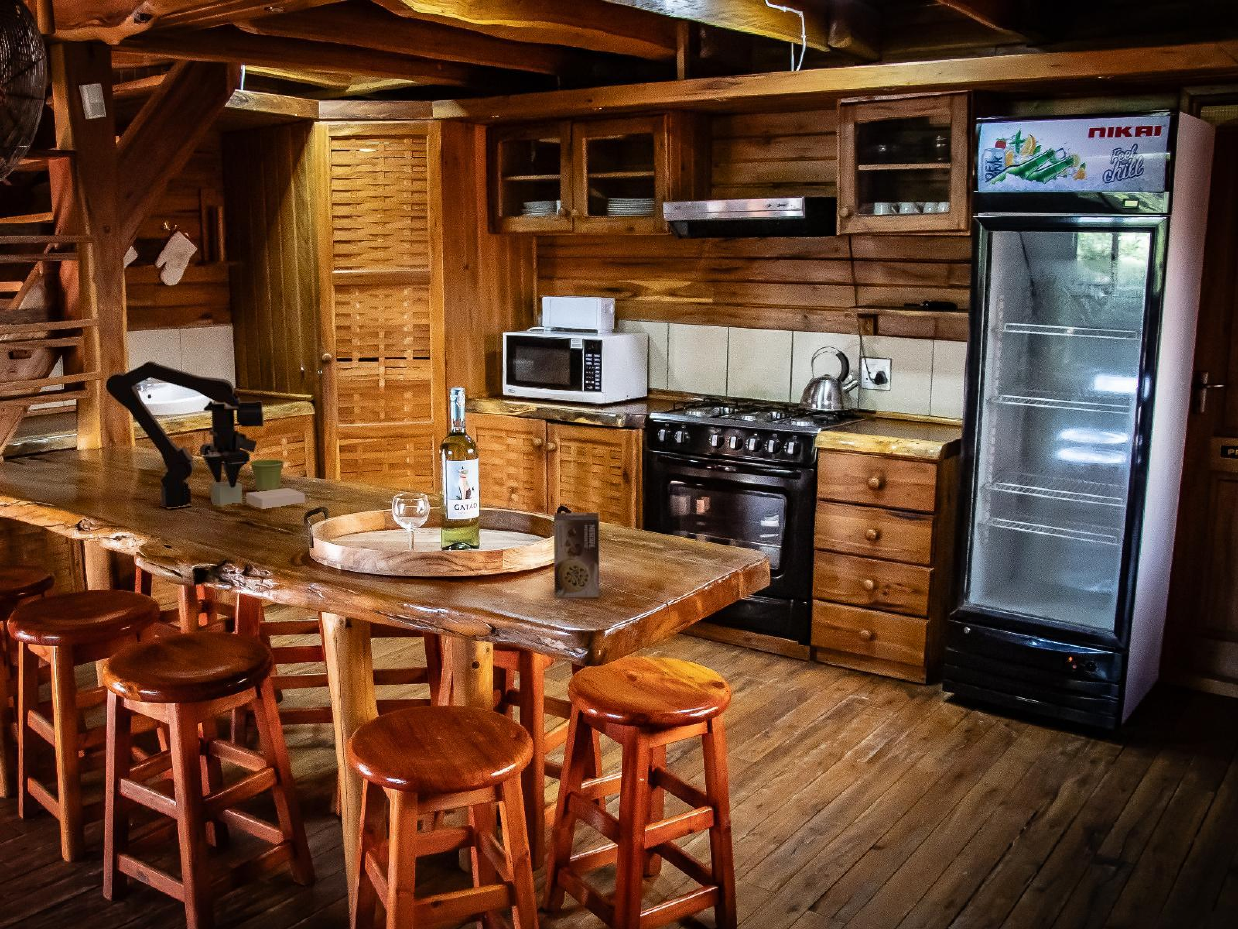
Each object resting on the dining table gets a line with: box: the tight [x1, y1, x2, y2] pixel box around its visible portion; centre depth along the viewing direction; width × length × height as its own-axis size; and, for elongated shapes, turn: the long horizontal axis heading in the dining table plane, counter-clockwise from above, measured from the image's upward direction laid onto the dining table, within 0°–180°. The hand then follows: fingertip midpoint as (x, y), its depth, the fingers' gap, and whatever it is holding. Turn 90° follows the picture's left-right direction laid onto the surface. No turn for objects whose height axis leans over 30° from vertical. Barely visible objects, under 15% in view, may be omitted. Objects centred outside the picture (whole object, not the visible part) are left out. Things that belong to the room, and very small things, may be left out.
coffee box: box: [553, 512, 600, 599], centre depth 239 cm, size 9×6×16 cm
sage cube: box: [210, 480, 243, 505], centre depth 319 cm, size 6×6×6 cm
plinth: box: [245, 487, 306, 509], centre depth 319 cm, size 12×10×4 cm
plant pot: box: [249, 459, 285, 490], centre depth 337 cm, size 9×9×9 cm
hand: (225, 484), depth 319 cm, fingers open, 9 cm apart
